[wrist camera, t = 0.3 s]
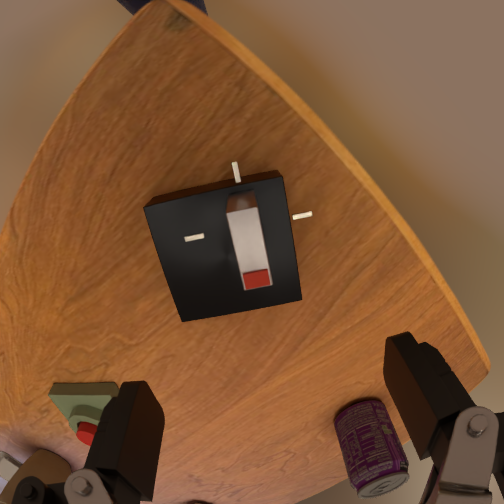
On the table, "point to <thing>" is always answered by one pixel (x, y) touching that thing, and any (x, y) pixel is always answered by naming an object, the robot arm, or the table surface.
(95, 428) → the button
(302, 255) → the table surface
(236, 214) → the rotary knob
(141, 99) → the table surface
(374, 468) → the beverage can
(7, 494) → the plant pot
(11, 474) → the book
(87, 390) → the switch
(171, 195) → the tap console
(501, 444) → the robot arm
